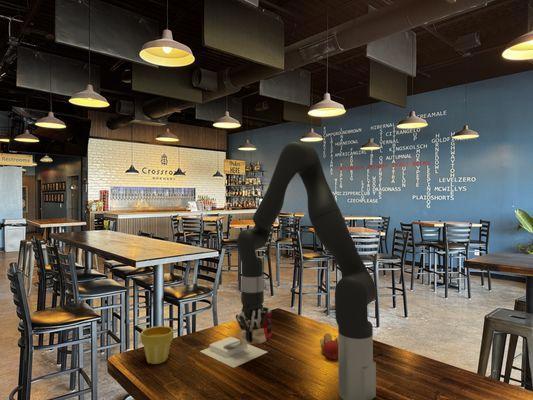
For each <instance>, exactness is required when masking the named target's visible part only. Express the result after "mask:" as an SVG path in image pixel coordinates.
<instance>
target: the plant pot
mask: <svg viewBox="0 0 533 400" xmlns="http://www.w3.org/2000/svg"><path fill="white" fill-rule="evenodd" d="M173 341H174V329H173V327H170V326H165V325H159V326H158V325H157V326H151V327H148V328H145V329H143V330H142V331H141V332H140V343H141V345H143V349H144V355H145V358H146V362H147V363H148V364H150V363H151V364H150V365H159V364H162V363H165V362H166V361H167V360H168V357H169V353H170V348H171V343H172V342H173Z"/></svg>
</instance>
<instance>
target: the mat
mask: <svg viewBox="0 0 533 400" xmlns="http://www.w3.org/2000/svg"><path fill="white" fill-rule="evenodd" d="M199 352H200V353H202V354H204V355H206V356H208V357H210V358H213V359H214V360H217V361H219V362H220V363H222V364H224V365H227V366H229V367H231V368H237V367H238V366H241V365H243V364H245V363H247V362H249V361H252V360H254V359H255V358H258V357H260V356H263V355H264V354H268V351H267V350H263V349H261V348H259V347H256V346H254V345H253V344H248V349H246V350H243V351H241V352H239V353H236V354H234V355H232V356H229V357H227V358H226V357H223V356H221V355H219V354H217V353H215V352H213V351H211V350H210V347H208V348H205V349H203V350H200V351H199Z"/></svg>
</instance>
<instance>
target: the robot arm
mask: <svg viewBox="0 0 533 400" xmlns="http://www.w3.org/2000/svg"><path fill="white" fill-rule="evenodd" d="M296 174H298V176H299V177H300V178H301V179H300V180H301V181H302V183H303V186H304V188H305V192H306V195H307V197H306V198H307V215H308V218H309V221H310V224H311V226H312V228H313V231H314V233H315V234H316V235H315V236H316V237H317V239H318V240H319V242H320V243H321V244H322V246H323V247H324V248H325V249H326V251H328V253H329V254H331V256H332V257H333V258H334V261H335V262H336V264H337V266H338V268H339V271H340V273H341V275H342V278H341V279H339V280H338V281H337V282H336V285H335V288H334V310H335V311H334V312H335V314H334V315H335V322H336V325H337V329H338V331H337V332H338V333H337V334H338V336H337V338H338V358H337V359H338V360H337V361H338V363H337V364H338V365H337V366H338V367H337V368H338V369H337V370H338V375H337V376H338V377H337V378H338V384H337V385H338V396H339V397H340V398H341V399H342V400H373V399H374V398H376V397H377V374H376V373H377V363H376V361H374V356H373V355H374V354H373V353H374V352H373V350H374V349H373V348H374V347H373V346H374V344H373V342H374V339H373V337H374V335H373V330H374V329H373V323H372V322H371V321H369V316H368V314H369V313H368V306H369V304H371V303H372V302H373V301H374V300H375V298H376V295H377V287H376V283H375V281H374V279H373V277H372V275H371V274H370V272H369V270H368V268H367V267H366V264H365V263H364V261H363V259H362V258H361V255H360V253H359V251H358V248H357V247H356V244H355V242H354V240H353V237H352V235H351V233H350V230H349V228H348V226H347V223H346V220H345V218H344V216H343V214H342V212H341V209H340V207H339V205H338V203H337V201H336V199H335V196H334V194H333V191H332V190H331V187H330V186H329V183H328V181H327V179H326V175H325V173H324V169H323V167H322V163H321V159H320V157H319V155H318V152H317V151H316V149H315V148H314V147H313V146H312V145H310V144H307V143H303V142H299V141H290V142H288V143H287V144H285V146H284V147H283V149H282V150H281V153H280V154H279V157H278V159H277V162H276V166H275V168H274V171H273V173H272V176H271V179H270V181H269V184H268V187H267V190H265V191H266V192H265V194H264V196H263V197H262V200H261V201H260V203H259V204H258V206H257V208H256V210H255V212H254V214H253V216H252V221H253V223H254V226H253V228H250V229H249V228H247V229H243V230H241V231H240V232H239V234H238V236H237V238H236V247H237V251H238V255H239V259H240V261H241V280H240V302H241V305H242V308H241V311H240V313H239V314H236V315H235V320H236V321H237V324H238V326H239V327H240V329H241V330H242V331H246V340H247V342H250V343H251V342H252V328H253V327H254V328H253V330H254V329H259V328H260V326H261V325H264V322H265V319H266V316H267V313H268V308H266V307H267V306H264V301H265V298H264V296H265V293H264V292H265V291H264V288H265V287H264V274H263V273H264V270H263V268H264V266H263V265H264V264H263V260H262V258H261V257H259V256H257V254H256V250H259V249H262V248H263V247H264V246H265V245H266V244H267V242H268V240H269V238H270V235H271V231H272V227H273V225H274V223H275V222H276V220H277V218H278V217H279V215H280V214H281V212H282V208H283V207H284V202H285V198H286V197H285V195H286V192H287V189H288V187H289V184H290V182H291V181H292V180H293V178H294V177H295V175H296ZM261 318H262V321H261Z"/></svg>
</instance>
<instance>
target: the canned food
mask: <svg viewBox="0 0 533 400" xmlns="http://www.w3.org/2000/svg"><path fill="white" fill-rule="evenodd" d="M265 307H266V308H268V313H267V316H266V319H265V322H264V325H261V326H260V328H259V329H261V328H263V329H264V333H265V338H266V340H268V339H270V338H271V337H272V308H270V307H269V306H265ZM261 321H262V318H261ZM253 328H254V327H253ZM253 328H252V330H253Z"/></svg>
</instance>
